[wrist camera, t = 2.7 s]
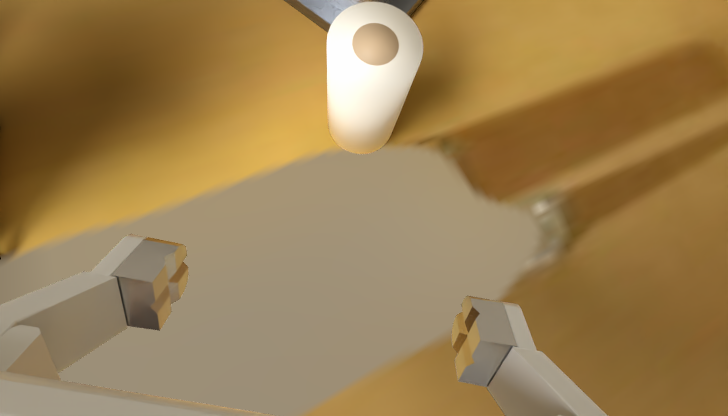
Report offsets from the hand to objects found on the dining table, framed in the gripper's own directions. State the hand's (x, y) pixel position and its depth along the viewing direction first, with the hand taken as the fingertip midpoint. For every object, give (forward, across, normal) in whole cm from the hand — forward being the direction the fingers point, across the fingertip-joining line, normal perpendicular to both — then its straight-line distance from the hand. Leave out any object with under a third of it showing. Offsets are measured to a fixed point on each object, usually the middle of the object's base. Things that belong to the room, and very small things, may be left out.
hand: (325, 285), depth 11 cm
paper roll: (+20, 0, +3) cm, 20 cm away
